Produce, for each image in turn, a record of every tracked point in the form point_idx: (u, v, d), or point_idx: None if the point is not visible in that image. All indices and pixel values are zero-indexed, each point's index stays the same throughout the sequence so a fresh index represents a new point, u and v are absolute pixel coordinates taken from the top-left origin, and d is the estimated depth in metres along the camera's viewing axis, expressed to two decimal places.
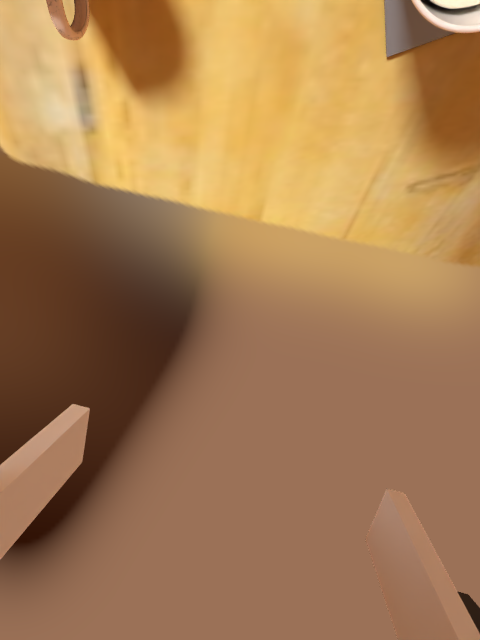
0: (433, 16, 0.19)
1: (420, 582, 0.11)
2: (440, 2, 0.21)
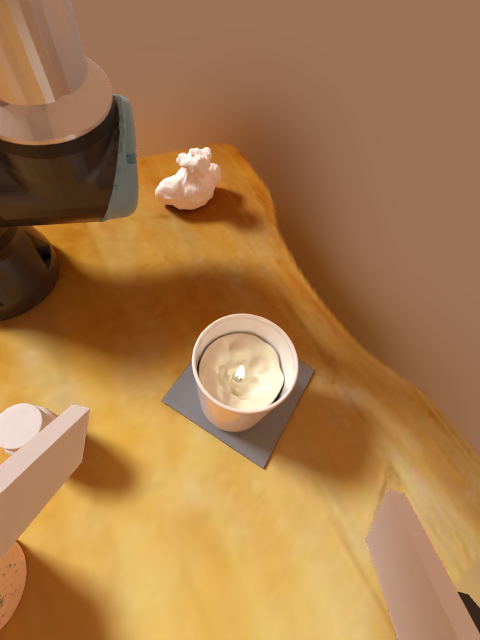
0: (259, 409, 0.28)
1: (420, 582, 0.11)
2: None
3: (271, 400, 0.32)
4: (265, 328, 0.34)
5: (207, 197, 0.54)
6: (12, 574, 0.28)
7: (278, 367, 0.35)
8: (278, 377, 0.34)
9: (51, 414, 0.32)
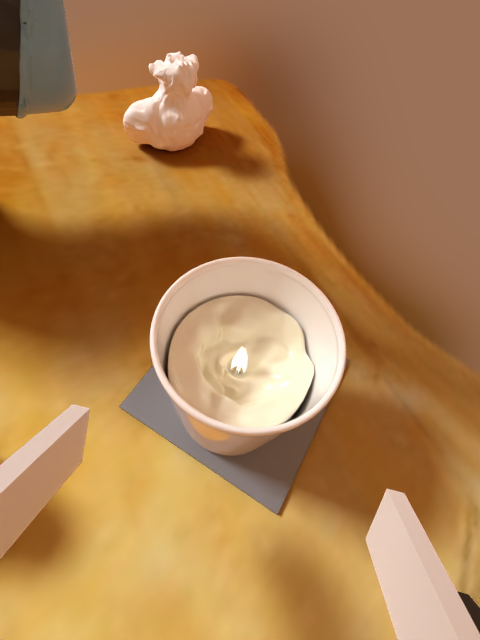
0: (278, 425, 0.15)
1: (420, 582, 0.11)
2: (272, 424, 0.18)
3: (295, 407, 0.18)
4: (282, 284, 0.20)
5: (194, 132, 0.40)
6: None
7: (303, 351, 0.21)
8: (304, 368, 0.20)
9: None
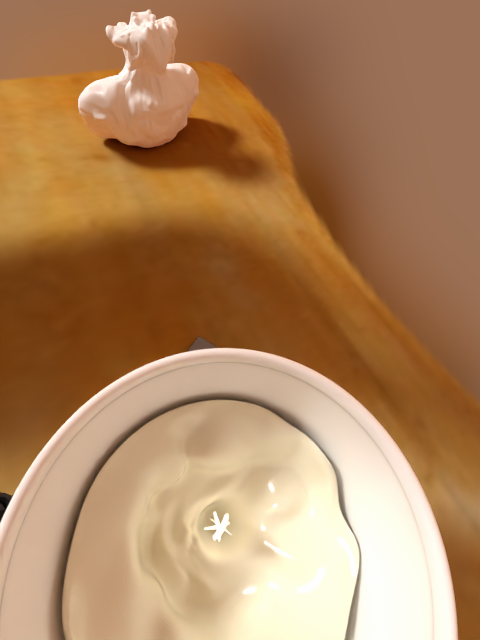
0: None
1: None
2: None
3: None
4: (298, 392, 0.10)
5: (174, 122, 0.31)
6: None
7: (336, 507, 0.11)
8: (340, 545, 0.11)
9: None
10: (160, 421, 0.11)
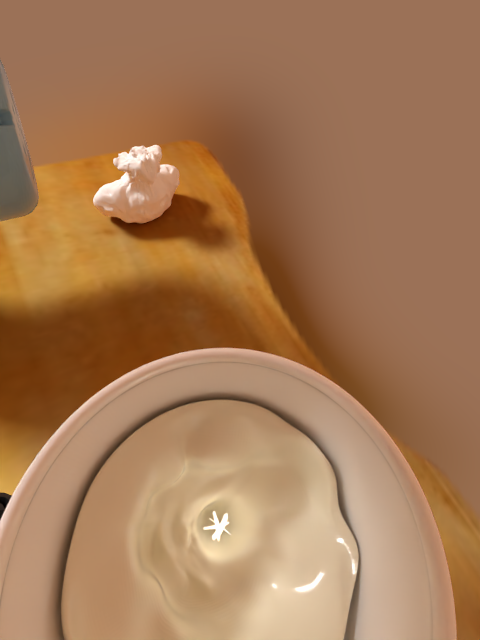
0: None
1: None
2: None
3: None
4: (297, 392, 0.11)
5: (161, 207, 0.43)
6: None
7: (335, 507, 0.11)
8: (339, 545, 0.11)
9: None
10: (159, 421, 0.11)
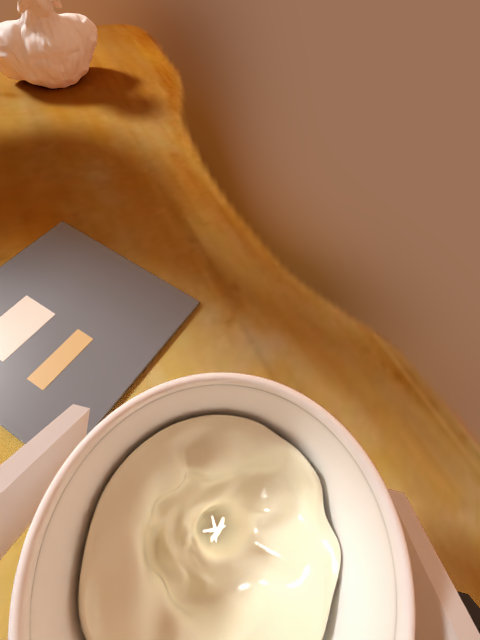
0: None
1: (420, 582, 0.11)
2: None
3: None
4: (286, 410, 0.12)
5: (71, 64, 0.36)
6: None
7: (321, 512, 0.13)
8: (324, 546, 0.12)
9: None
10: (163, 434, 0.13)
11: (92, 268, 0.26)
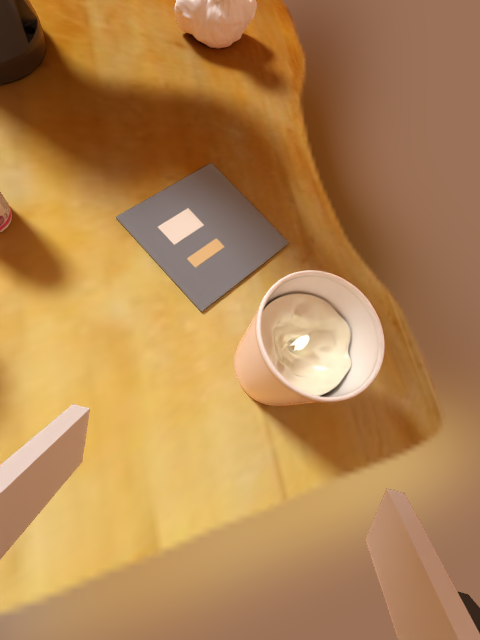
0: (327, 397, 0.22)
1: (420, 582, 0.11)
2: (315, 394, 0.26)
3: (332, 387, 0.26)
4: (348, 299, 0.27)
5: (232, 34, 0.47)
6: None
7: (346, 349, 0.28)
8: (344, 361, 0.28)
9: None
10: (289, 296, 0.28)
11: (227, 201, 0.40)
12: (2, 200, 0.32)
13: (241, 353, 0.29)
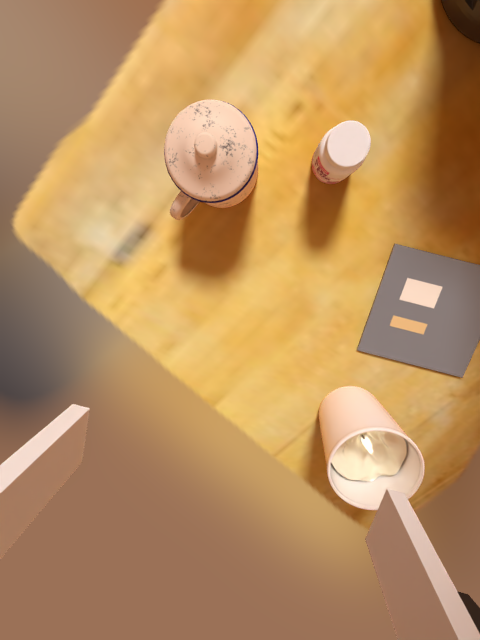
0: (335, 488, 0.36)
1: (420, 582, 0.11)
2: (337, 470, 0.39)
3: (347, 478, 0.39)
4: (414, 471, 0.36)
5: None
6: (240, 197, 0.38)
7: (380, 474, 0.39)
8: (371, 475, 0.39)
9: (362, 161, 0.33)
10: None
11: (472, 310, 0.41)
12: None
13: (339, 406, 0.41)
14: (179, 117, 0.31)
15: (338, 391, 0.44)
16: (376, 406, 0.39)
